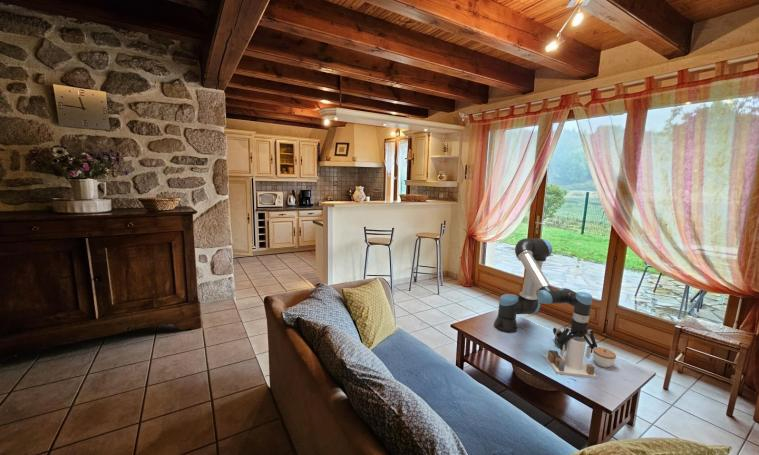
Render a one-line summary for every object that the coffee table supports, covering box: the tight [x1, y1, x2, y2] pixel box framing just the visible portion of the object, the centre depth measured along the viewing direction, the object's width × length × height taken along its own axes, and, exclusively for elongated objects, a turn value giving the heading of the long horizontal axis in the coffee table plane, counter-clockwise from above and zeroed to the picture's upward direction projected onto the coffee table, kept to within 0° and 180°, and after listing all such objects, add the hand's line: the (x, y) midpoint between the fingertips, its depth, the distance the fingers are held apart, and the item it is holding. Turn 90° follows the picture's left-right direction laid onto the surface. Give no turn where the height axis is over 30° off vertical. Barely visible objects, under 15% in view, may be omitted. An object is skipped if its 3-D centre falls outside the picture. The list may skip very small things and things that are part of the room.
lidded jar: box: [592, 346, 617, 368], centre depth 183 cm, size 11×11×9 cm
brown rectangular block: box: [551, 350, 563, 367], centre depth 180 cm, size 9×3×5 cm, turn 173°
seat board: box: [544, 349, 598, 380], centre depth 179 cm, size 17×20×6 cm
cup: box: [565, 337, 587, 369], centre depth 178 cm, size 8×8×16 cm
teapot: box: [552, 326, 568, 349], centre depth 203 cm, size 10×12×10 cm
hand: (574, 356), depth 178 cm, fingers open, 13 cm apart
